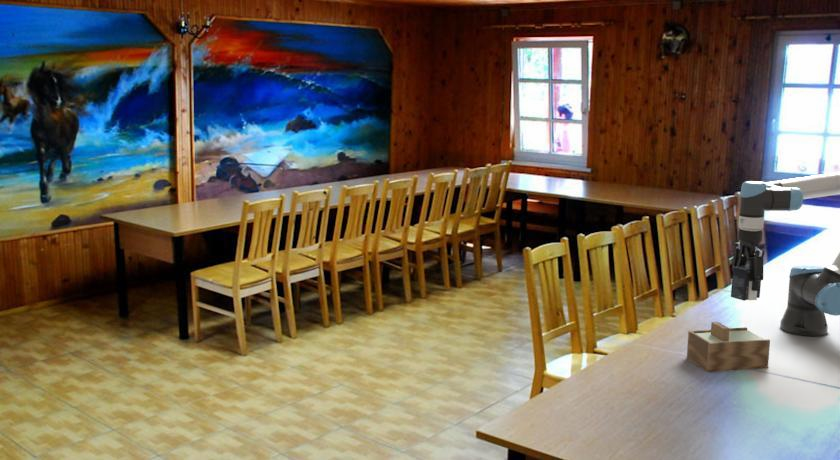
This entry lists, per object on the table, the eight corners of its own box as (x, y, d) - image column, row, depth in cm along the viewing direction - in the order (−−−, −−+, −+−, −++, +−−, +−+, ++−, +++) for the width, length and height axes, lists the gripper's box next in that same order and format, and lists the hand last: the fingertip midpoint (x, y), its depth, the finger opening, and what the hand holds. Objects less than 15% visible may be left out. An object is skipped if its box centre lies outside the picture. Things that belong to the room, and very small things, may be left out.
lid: (747, 332, 259) (748, 317, 258) (766, 343, 249) (768, 328, 248) (692, 336, 256) (693, 321, 255) (710, 347, 246) (711, 331, 245)
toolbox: (744, 354, 262) (746, 327, 260) (767, 368, 249) (770, 340, 248) (686, 357, 258) (688, 330, 257) (707, 372, 246) (709, 343, 244)
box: (744, 301, 264) (746, 269, 263) (730, 297, 269) (732, 266, 267) (760, 297, 268) (762, 266, 267) (745, 294, 273) (747, 263, 271)
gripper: (723, 223, 274) (718, 289, 278) (757, 234, 254) (752, 305, 258) (743, 223, 275) (738, 288, 279) (779, 234, 256) (773, 304, 260)
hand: (745, 296), depth 269 cm, fingers closed on box, 7 cm apart
